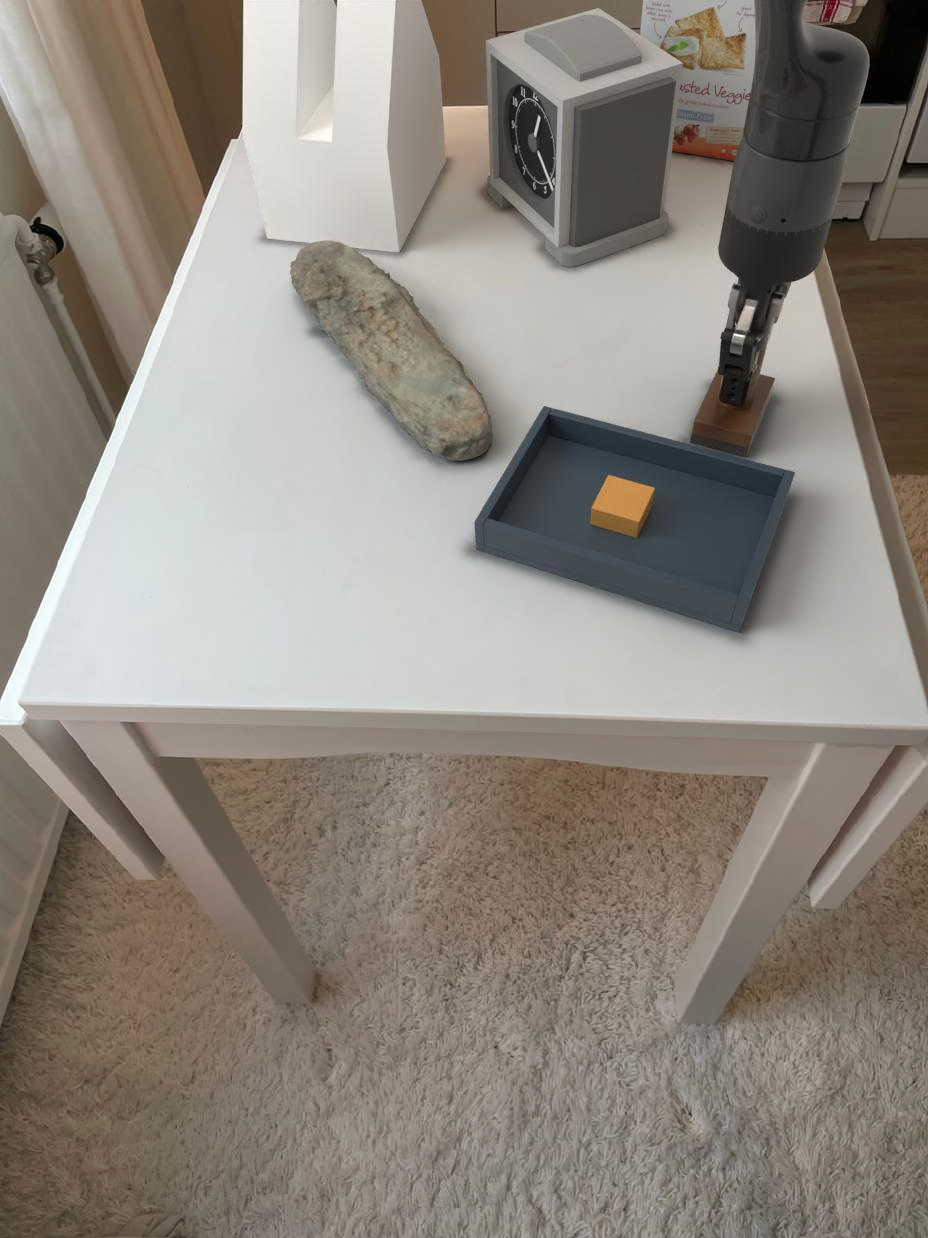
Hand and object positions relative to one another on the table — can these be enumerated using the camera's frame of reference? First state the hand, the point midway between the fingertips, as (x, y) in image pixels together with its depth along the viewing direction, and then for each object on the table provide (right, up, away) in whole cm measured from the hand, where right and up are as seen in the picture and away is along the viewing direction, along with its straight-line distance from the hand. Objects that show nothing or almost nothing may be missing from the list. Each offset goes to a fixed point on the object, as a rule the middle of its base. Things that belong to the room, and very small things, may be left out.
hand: (737, 388), depth 82 cm
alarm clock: (-11, +26, +24) cm, 37 cm away
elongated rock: (-31, +6, +11) cm, 33 cm away
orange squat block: (-11, -11, -4) cm, 16 cm away
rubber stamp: (0, -2, +3) cm, 4 cm away
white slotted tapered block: (-36, +29, +28) cm, 53 cm away
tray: (-10, -12, -4) cm, 16 cm away
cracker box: (+4, +36, +31) cm, 48 cm away
